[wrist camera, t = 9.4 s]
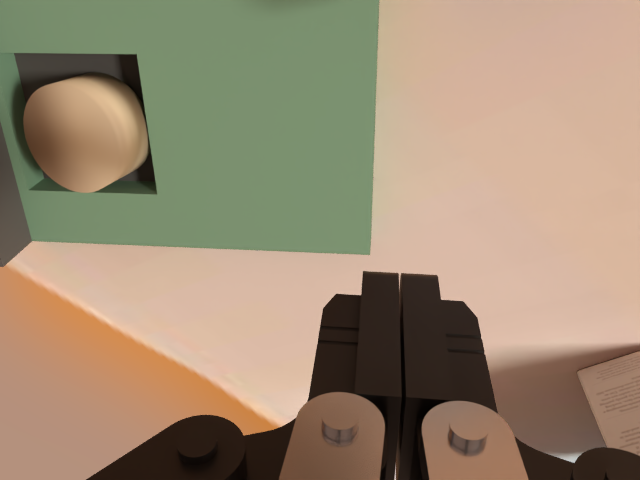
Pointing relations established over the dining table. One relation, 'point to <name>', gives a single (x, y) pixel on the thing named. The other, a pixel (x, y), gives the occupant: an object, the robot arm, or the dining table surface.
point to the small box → (615, 400)
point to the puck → (86, 131)
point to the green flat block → (202, 122)
